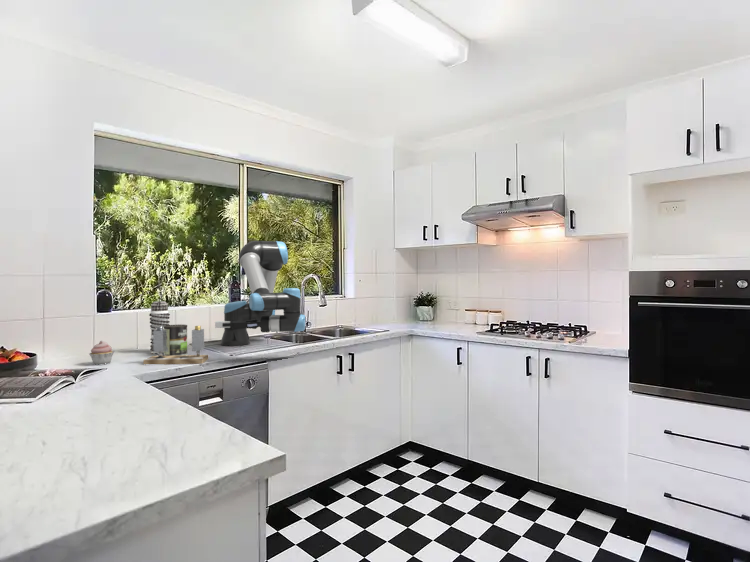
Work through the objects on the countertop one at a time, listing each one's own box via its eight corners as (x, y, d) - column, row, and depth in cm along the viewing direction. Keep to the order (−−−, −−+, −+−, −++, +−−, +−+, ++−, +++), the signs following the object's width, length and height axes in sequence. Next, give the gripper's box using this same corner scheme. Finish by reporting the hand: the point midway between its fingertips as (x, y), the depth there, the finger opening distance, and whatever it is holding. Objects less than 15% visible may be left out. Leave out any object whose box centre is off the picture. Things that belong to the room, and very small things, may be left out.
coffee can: (192, 353, 216) (191, 324, 215) (178, 357, 206) (178, 327, 205) (173, 352, 218) (172, 324, 218) (159, 356, 208) (158, 326, 207)
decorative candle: (156, 354, 213) (156, 302, 213) (145, 352, 218) (145, 301, 218) (174, 351, 221) (173, 301, 221) (163, 350, 226) (162, 300, 226)
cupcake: (84, 364, 190) (83, 341, 190) (106, 360, 198) (105, 338, 198) (97, 366, 185) (96, 342, 185) (119, 362, 194) (118, 339, 193)
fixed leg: (166, 356, 196) (166, 326, 196) (163, 358, 192) (162, 327, 192) (157, 357, 196) (156, 326, 196) (153, 358, 192) (153, 327, 192)
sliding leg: (204, 355, 198) (203, 325, 198) (201, 356, 194) (201, 326, 194) (194, 355, 197) (194, 325, 197) (192, 357, 193) (191, 326, 193)
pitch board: (208, 359, 201) (208, 354, 201) (202, 363, 191) (201, 358, 191) (152, 360, 198) (152, 355, 198) (143, 364, 189) (143, 359, 188)
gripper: (268, 333, 191) (211, 335, 189) (272, 330, 204) (219, 331, 202) (268, 316, 191) (211, 317, 189) (272, 314, 204) (219, 315, 202)
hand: (215, 324), depth 196 cm, fingers closed
